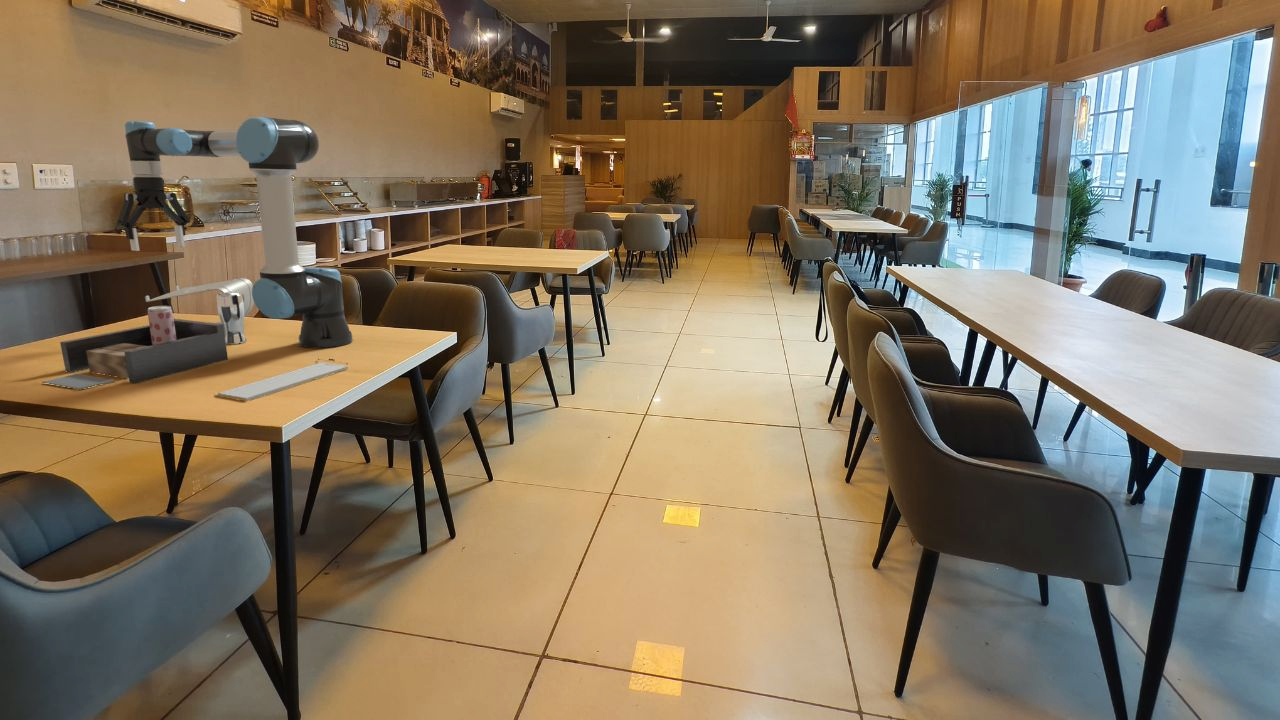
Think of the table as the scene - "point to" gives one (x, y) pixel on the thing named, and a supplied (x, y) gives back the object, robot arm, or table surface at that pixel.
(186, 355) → the tray
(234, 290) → the portable electronic device stand
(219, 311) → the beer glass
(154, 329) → the beverage can
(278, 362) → the table surface
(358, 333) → the table surface
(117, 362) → the offcut slab
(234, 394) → the baseboard molding
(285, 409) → the table surface
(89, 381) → the mat
